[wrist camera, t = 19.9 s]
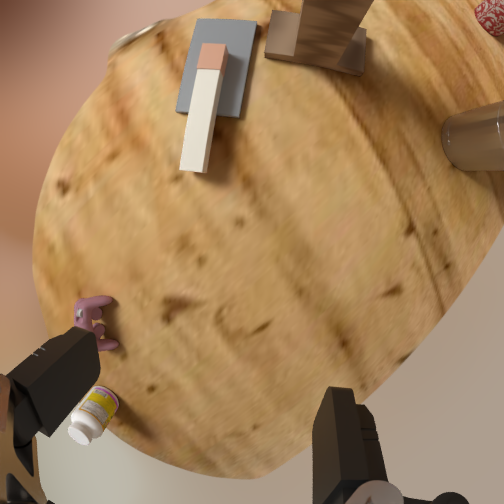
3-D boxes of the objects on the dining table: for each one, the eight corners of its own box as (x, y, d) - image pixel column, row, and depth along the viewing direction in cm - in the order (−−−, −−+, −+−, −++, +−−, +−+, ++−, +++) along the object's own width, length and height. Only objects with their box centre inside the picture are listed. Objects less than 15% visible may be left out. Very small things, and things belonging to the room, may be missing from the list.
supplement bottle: (105, 411, 52) (79, 450, 39) (86, 387, 50) (56, 424, 38) (126, 406, 51) (100, 448, 38) (106, 381, 49) (75, 421, 37)
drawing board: (257, 24, 35) (256, 21, 34) (239, 118, 38) (238, 116, 37) (198, 21, 35) (197, 18, 34) (177, 112, 39) (175, 111, 38)
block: (228, 53, 35) (225, 44, 32) (207, 173, 39) (202, 172, 36) (207, 52, 36) (202, 43, 32) (184, 170, 39) (178, 169, 36)
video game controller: (100, 289, 47) (66, 299, 41) (114, 295, 45) (78, 307, 39) (107, 339, 49) (77, 352, 43) (122, 348, 47) (90, 363, 41)
